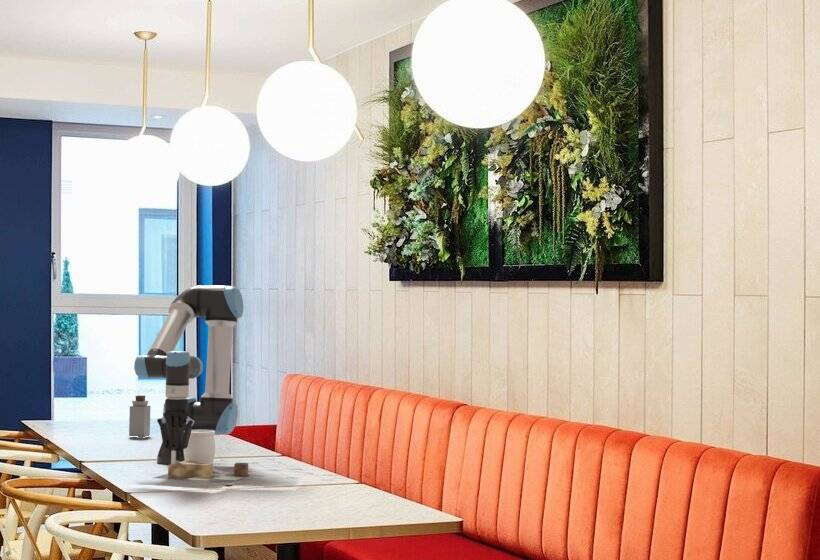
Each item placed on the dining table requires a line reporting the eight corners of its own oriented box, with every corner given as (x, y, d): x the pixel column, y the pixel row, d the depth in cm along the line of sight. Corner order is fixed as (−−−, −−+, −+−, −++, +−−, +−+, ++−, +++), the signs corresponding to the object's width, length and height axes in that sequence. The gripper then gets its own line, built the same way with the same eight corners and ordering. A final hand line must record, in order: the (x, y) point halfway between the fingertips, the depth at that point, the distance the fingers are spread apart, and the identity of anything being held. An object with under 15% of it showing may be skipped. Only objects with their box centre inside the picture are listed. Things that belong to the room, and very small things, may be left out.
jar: (176, 476, 375) (177, 431, 375) (193, 472, 384) (194, 428, 385) (204, 478, 371) (205, 432, 371) (220, 474, 380) (221, 430, 381)
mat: (152, 481, 358) (152, 477, 358) (178, 474, 375) (178, 470, 375) (229, 486, 351) (229, 482, 351) (252, 478, 368) (252, 475, 368)
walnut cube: (234, 476, 365) (234, 464, 365) (236, 474, 369) (236, 462, 369) (246, 476, 365) (246, 464, 365) (248, 475, 369) (248, 462, 369)
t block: (168, 477, 360) (168, 464, 360) (185, 472, 371) (185, 460, 372) (201, 479, 356) (202, 466, 357) (218, 474, 368) (218, 462, 368)
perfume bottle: (134, 436, 488) (136, 394, 488) (149, 436, 487) (150, 395, 488) (128, 437, 481) (130, 396, 482) (143, 438, 480) (145, 396, 481)
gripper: (153, 398, 365) (151, 470, 364) (189, 399, 361) (187, 472, 360) (164, 396, 372) (162, 467, 371) (200, 398, 368) (198, 470, 367)
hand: (174, 470), depth 366 cm, fingers closed
